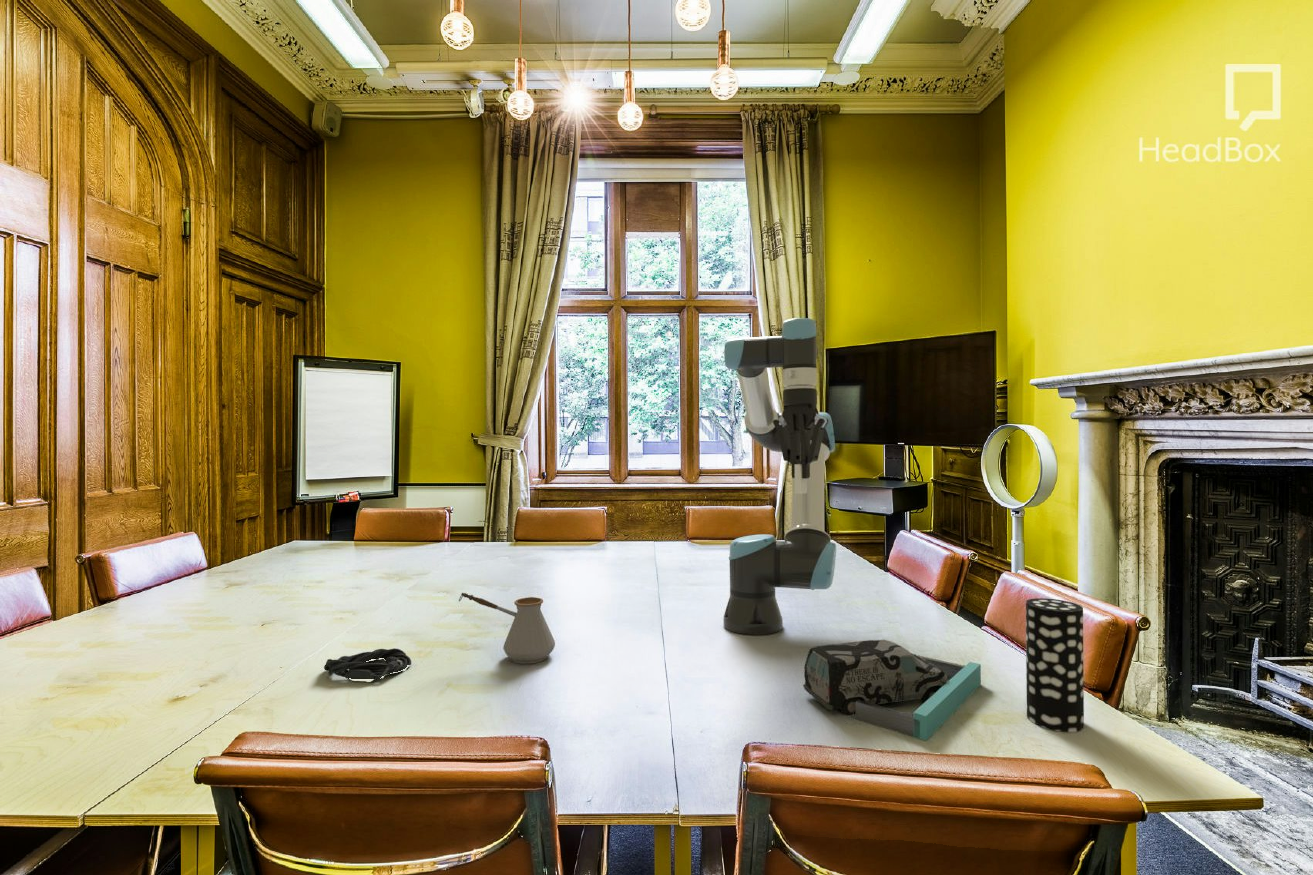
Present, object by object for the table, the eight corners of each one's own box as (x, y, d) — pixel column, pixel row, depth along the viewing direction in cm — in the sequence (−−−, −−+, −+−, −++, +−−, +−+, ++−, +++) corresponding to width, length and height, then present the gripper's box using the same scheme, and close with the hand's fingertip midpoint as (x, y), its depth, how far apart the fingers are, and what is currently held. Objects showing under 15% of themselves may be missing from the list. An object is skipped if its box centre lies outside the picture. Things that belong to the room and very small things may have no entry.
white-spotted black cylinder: (1016, 711, 112) (1015, 599, 112) (1060, 709, 112) (1059, 597, 112) (1049, 733, 103) (1048, 612, 103) (1096, 730, 104) (1095, 610, 104)
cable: (308, 682, 130) (308, 661, 130) (352, 658, 144) (352, 639, 144) (384, 686, 127) (383, 665, 127) (421, 661, 141) (421, 642, 141)
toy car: (951, 703, 116) (950, 649, 116) (829, 720, 110) (828, 663, 110) (914, 681, 126) (913, 631, 126) (801, 695, 120) (800, 643, 120)
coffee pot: (558, 648, 148) (557, 584, 148) (551, 666, 136) (550, 597, 136) (467, 650, 147) (466, 586, 147) (452, 668, 136) (451, 599, 136)
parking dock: (855, 718, 110) (855, 695, 110) (918, 669, 132) (918, 650, 132) (926, 740, 102) (926, 716, 102) (980, 684, 124) (980, 664, 124)
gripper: (765, 389, 143) (767, 492, 143) (818, 385, 134) (819, 496, 134) (783, 390, 149) (784, 490, 149) (834, 387, 140) (835, 493, 140)
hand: (800, 492), depth 142 cm, fingers closed
